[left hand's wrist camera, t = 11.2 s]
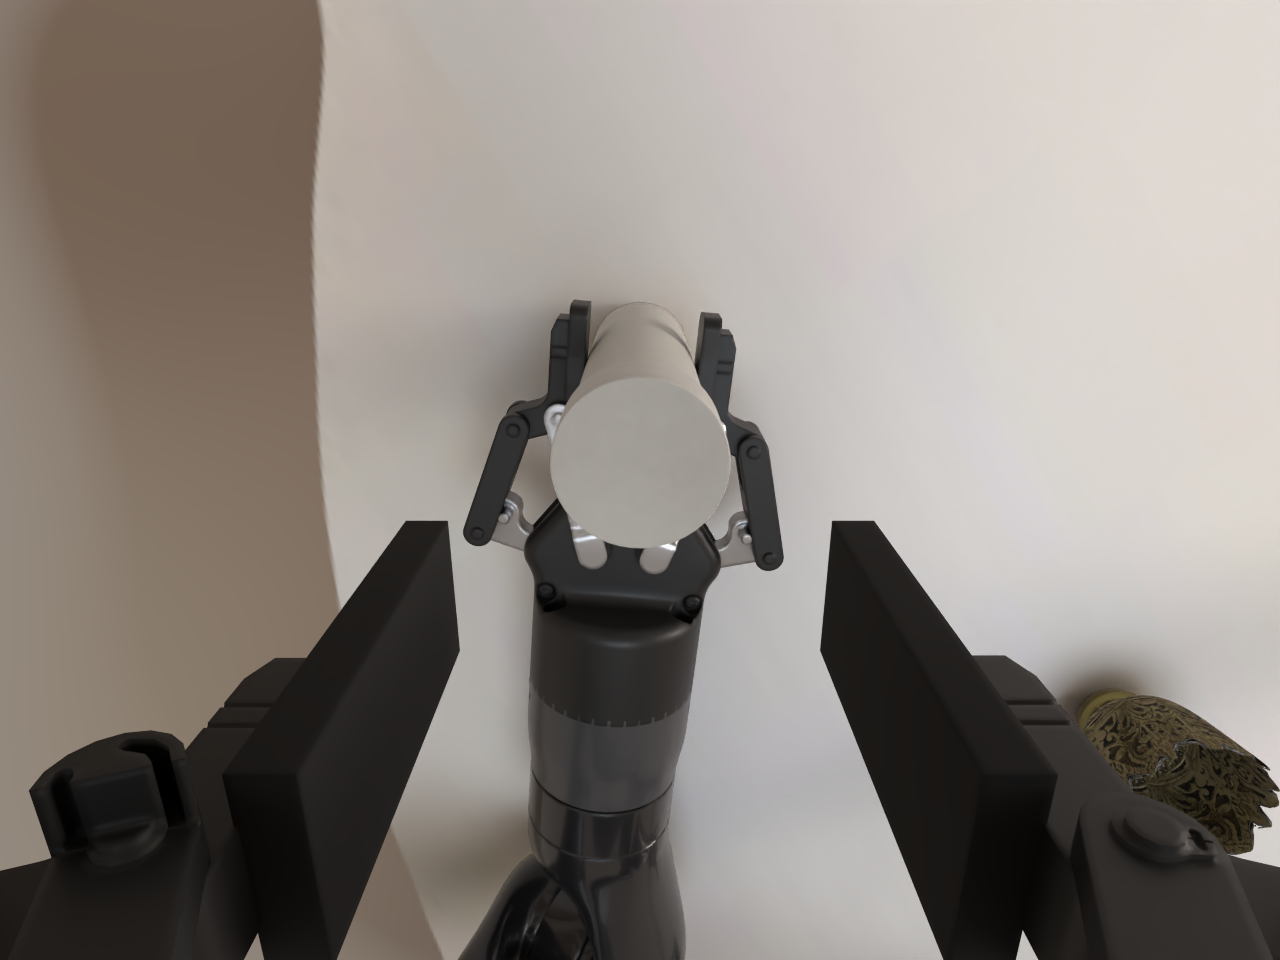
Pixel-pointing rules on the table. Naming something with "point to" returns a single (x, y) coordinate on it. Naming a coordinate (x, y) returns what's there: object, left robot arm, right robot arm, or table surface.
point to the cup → (1181, 763)
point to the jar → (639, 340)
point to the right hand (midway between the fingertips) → (645, 311)
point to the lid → (640, 455)
